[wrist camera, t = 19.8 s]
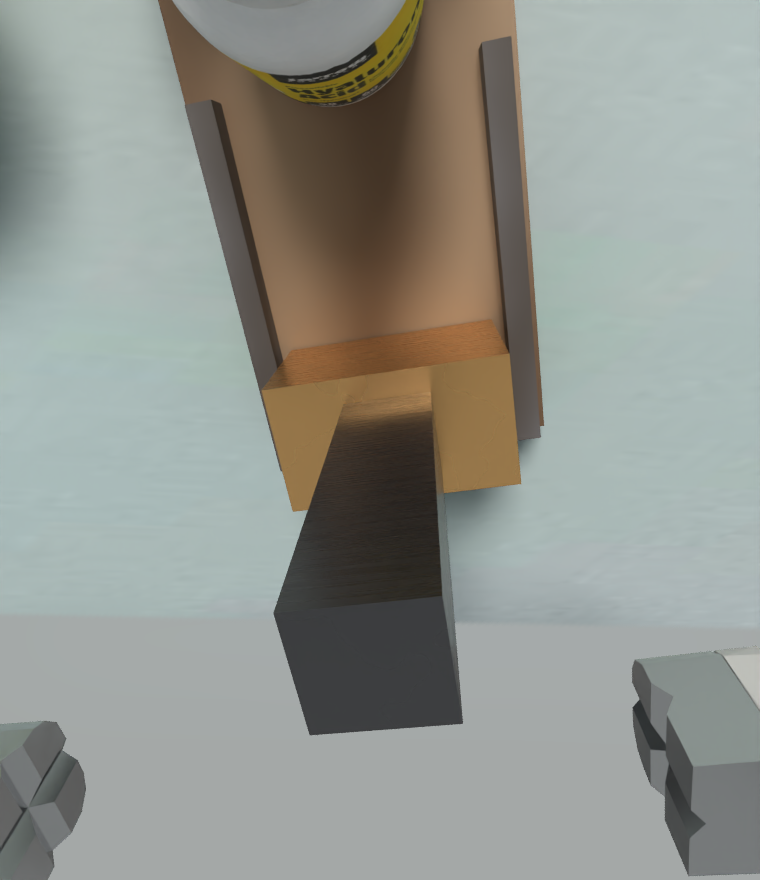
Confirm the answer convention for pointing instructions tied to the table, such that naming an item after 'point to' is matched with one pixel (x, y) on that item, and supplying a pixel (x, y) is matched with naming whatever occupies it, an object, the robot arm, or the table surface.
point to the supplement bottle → (312, 42)
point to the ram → (384, 515)
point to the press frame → (374, 195)
